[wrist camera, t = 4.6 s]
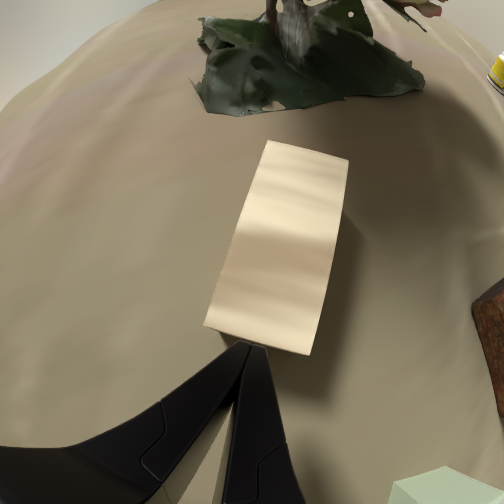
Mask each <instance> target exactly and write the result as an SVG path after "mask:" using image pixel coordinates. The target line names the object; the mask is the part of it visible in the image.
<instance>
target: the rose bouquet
mask: <svg viewBox="0 0 504 504" xmlns="http://www.w3.org/2000/svg"><path fill="white" fill-rule="evenodd" d="M281 1H282V4H283V12H282V13H278V12H277V10H276V3H277V0H266V6H267V7H266V12H265V13H263V14H262V15H261V16H260V17H258V18H257V19H255V20H252V21H248V20H243V19H220V18H216V17H213V16H212V17H207V16H206V17H205V18H198V20H199V21H202V25H203V28H202V29H203V30H204V31H202V36H201V38H197V39H198V40H197V42H198V44H207V46H208V47H209V48H210V49H211V50H212V51H213V52H211V53H210V55H209V56H208V57H207V60H206V72H205V74H204V75H203V76H204V78H202V79H203V80H202V83H200V82H198V83H197V85H194V83H193V82H192V81H191V80H190V79H189V80H190V81H191V83H192V85H193V87H194V88H195V90H196V92H197V93H198V95H199V97H200V98H201V100H202V102H203V104H204V106H205V108H206V111H207V112H208V113H224V114H228V115H233V116H237V117H239V116H245V115H252V114H258V113H265V112H273V111H263V110H262V108H263V107H265V105H266V104H268V103H269V102H270V101H272V100H273V101H277V102H280V104H282V105H283V106H284V107H285V108H286V109H284V110H290V109H298V108H301V109H303V108H306V107H309V106H313V105H318V104H322V103H327V102H332V101H346V100H343V99H344V96H351V95H373V96H396V95H401V94H403V93H406V92H407V91H410V90H413V89H418V90H422V91H423V88H424V85H425V80H424V77H423V75H422V74H421V73H420V71H417V70H414V69H413V68H412V67H411V66H412V61H409V62H405V61H403V60H401V59H400V58H398V57H397V56H396V54H395V52H393V51H391V50H389V49H387V48H386V47H384V46H383V45H381V44H380V43H379V42H377V41H376V40H374V39H373V38H372V37H373V30H372V27H371V23H370V22H369V19H368V17H367V14H366V13H365V10H364V6H363V4H362V1H361V0H327V1H325V2H323V3H321V4H318V5H315V6H312V7H311V6H307V5H305V3H304V2H303V0H281ZM307 1H311V0H307ZM383 1H384V2H385V3H386V4H387V5H389V6H390V7H391V8H392V9H393V10H394V11H395V12H397V13H398V14H400V15H401V16H402V17H403V18H404V19H406V20H407V21H408V22H409V20H411V21H412V22H414V23H416V24H417V25H419V26H420V28H421V29H422V30H423V31H425V32H427V31H426V30H425V29H423V28H422V27H421V25H420V24H418V22H416V21H415V20H414V19H413V18H411V17H410V16H409V15H408V14H407V13H406V12H405V11H404V7H408V6H413V7H414V8H416V9H417V10H418V11H419V12H420V13H421V14H422V15H423V16H425V17H428V18H431V17H433V16H441V13H442V8H441V7H440V6H438V5H435V4H433V3H431V2H429V0H383ZM439 1H440V2H443V3H444V2H445V1H448V0H439ZM350 11H351V12H353V13H354V15H353V17H349V16H348V13H349V12H350ZM246 15H247V14H246ZM320 70H321V71H320ZM188 78H189V77H188ZM343 95H344V96H343ZM277 111H281V110H277Z"/></svg>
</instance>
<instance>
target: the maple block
mask: <svg viewBox="0 0 504 504" xmlns="http://www.w3.org/2000/svg"><path fill="white" fill-rule="evenodd" d="M348 163H349V160H345V159H342V158H339V157H335V156H331V155H328V154H324V153H320V152H317V151H313V150H309V149H305V148H301V147H297V146H292V145H288V144H284V143H279V142H274V141H270V140H268V141H267V144H266V147H265V149H264V152H263V155H262V157H261V160H260V163H259V165H258V168H257V171H256V174H255V176H254V179H253V182H252V185H251V188H250V190H249V193H248V196H247V199H246V201H245V204H244V207H243V210H242V213H241V216H240V218H239V221H238V224H237V227H236V230H235V233H234V236H233V238H232V241H231V244H230V247H229V250H228V253H227V256H226V259H225V262H224V265H223V268H222V271H221V273H220V276H219V279H218V282H217V285H216V288H215V291H214V294H213V297H212V300H211V303H210V306H209V310H208V313H207V316H206V319H205V322H204V326H206V327H209V328H211V329H214V330H216V331H218V332H222V333H225V334H228V335H231V336H234V337H238V338H241V339H244V340H248V341H251V342H255V343H258V344H262V345H265V346H269V347H273V348H276V349H280V350H284V351H288V352H292V353H296V354H302V355H309V356H310V352H311V348H312V345H313V341H314V337H315V334H316V330H317V326H318V322H319V318H320V314H321V310H322V306H323V302H324V297H325V293H326V289H327V284H328V280H329V275H330V270H331V266H332V261H333V256H334V251H335V246H336V240H337V235H338V229H339V224H340V218H341V212H342V206H343V199H344V193H345V186H346V179H347V171H348Z"/></svg>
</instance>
